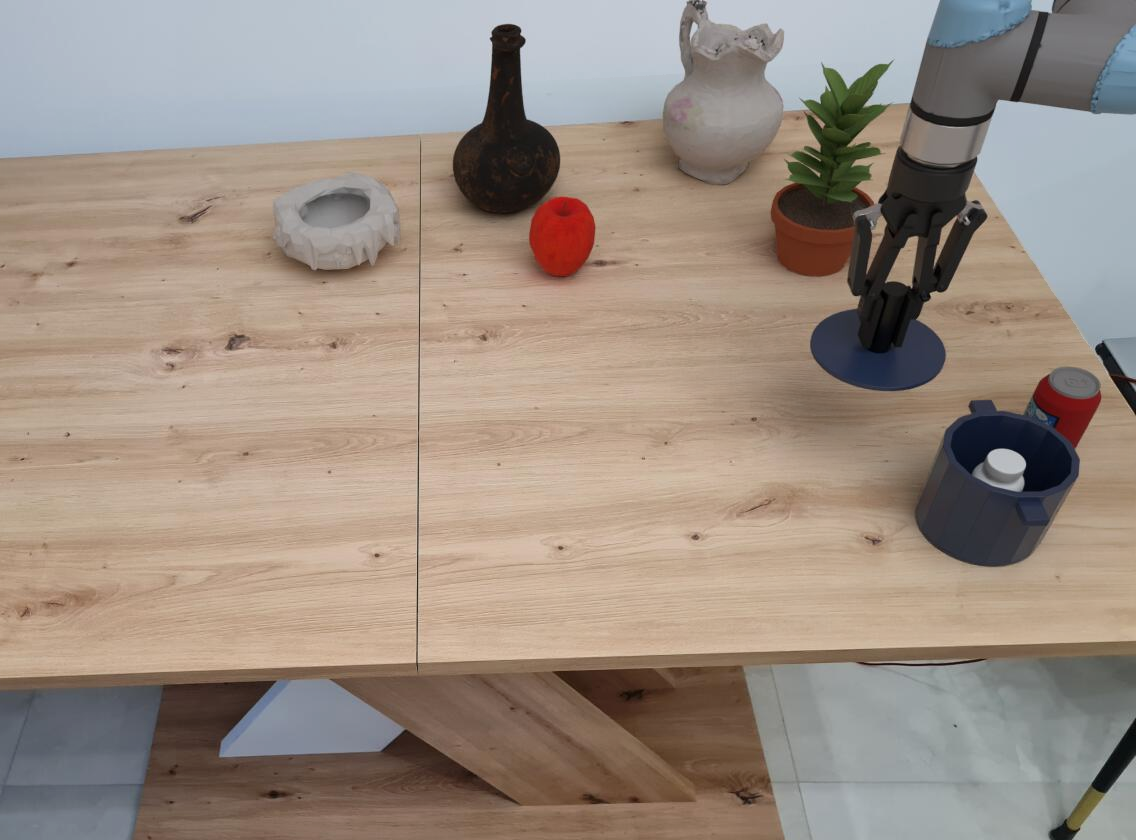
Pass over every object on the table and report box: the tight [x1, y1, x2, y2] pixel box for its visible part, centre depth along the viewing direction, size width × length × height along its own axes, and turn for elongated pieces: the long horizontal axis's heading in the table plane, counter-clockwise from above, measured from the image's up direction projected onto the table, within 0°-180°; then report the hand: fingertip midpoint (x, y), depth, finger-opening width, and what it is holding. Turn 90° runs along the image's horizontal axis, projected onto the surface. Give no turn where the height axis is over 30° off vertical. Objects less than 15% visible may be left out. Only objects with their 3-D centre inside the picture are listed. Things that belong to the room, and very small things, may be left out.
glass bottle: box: [452, 23, 561, 214], centre depth 168 cm, size 18×18×28 cm
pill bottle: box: [971, 449, 1026, 492], centre depth 119 cm, size 5×5×10 cm
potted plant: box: [770, 59, 895, 277], centre depth 149 cm, size 15×15×30 cm
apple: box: [528, 196, 597, 277], centre depth 158 cm, size 10×10×12 cm
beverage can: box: [1022, 366, 1102, 450], centre depth 125 cm, size 7×7×12 cm
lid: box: [809, 280, 947, 392], centre depth 119 cm, size 15×15×9 cm
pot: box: [914, 399, 1081, 568], centre depth 119 cm, size 14×19×12 cm
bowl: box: [272, 171, 401, 271], centre depth 167 cm, size 21×20×10 cm
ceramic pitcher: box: [662, 0, 785, 186], centre depth 172 cm, size 22×20×25 cm
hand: (879, 340), depth 121 cm, fingers closed on lid, 3 cm apart
